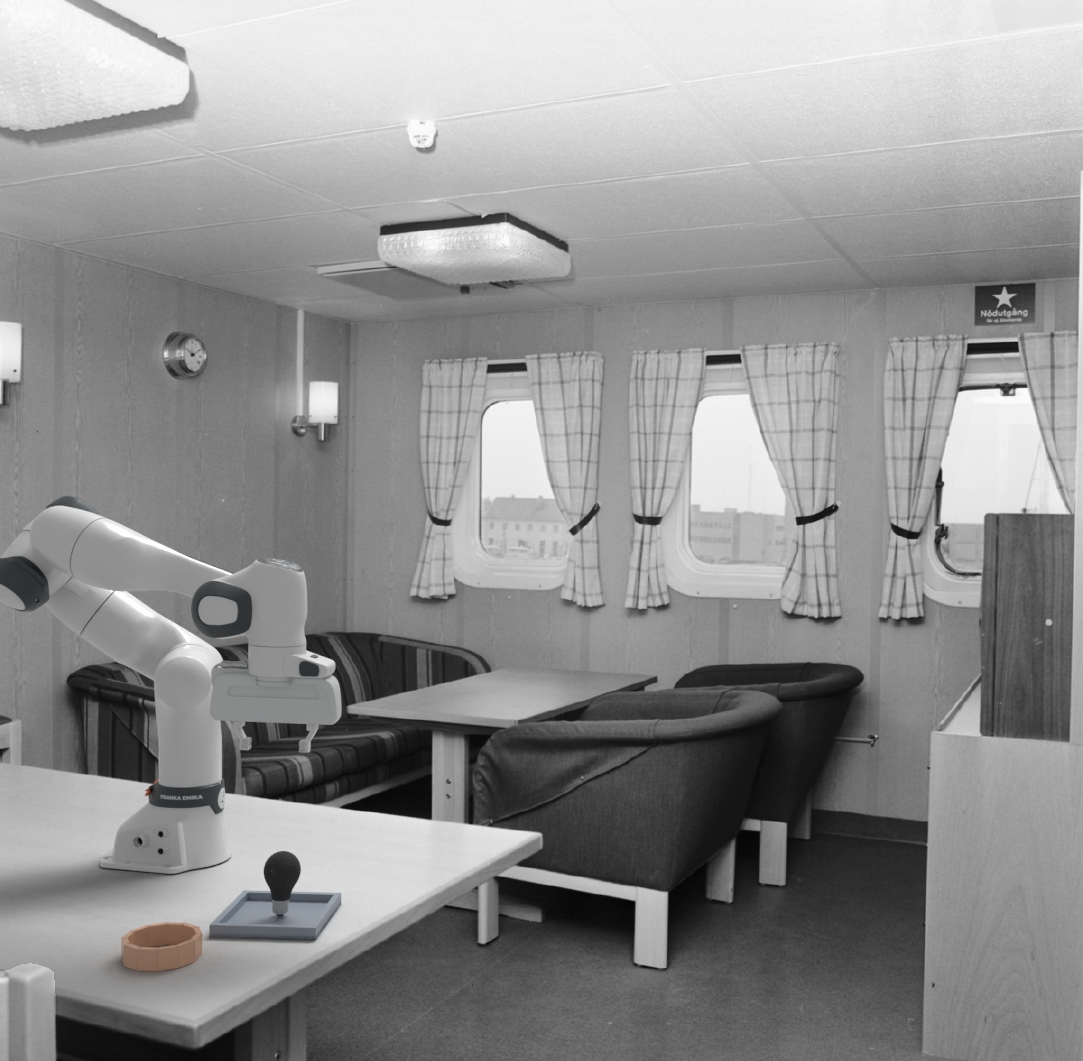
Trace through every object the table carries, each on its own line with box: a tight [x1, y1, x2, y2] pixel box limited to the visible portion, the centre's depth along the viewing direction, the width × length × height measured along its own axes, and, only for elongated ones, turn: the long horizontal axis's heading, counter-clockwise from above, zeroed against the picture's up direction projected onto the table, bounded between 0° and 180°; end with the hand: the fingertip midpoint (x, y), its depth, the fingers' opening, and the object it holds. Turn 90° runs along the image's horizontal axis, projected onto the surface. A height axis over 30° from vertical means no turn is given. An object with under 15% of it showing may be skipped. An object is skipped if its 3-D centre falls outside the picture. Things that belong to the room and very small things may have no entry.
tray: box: [208, 889, 342, 941], centre depth 181 cm, size 16×16×2 cm
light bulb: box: [263, 850, 302, 917], centre depth 181 cm, size 6×6×10 cm
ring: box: [120, 921, 203, 972], centre depth 166 cm, size 11×11×3 cm
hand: (274, 750), depth 183 cm, fingers open, 8 cm apart
